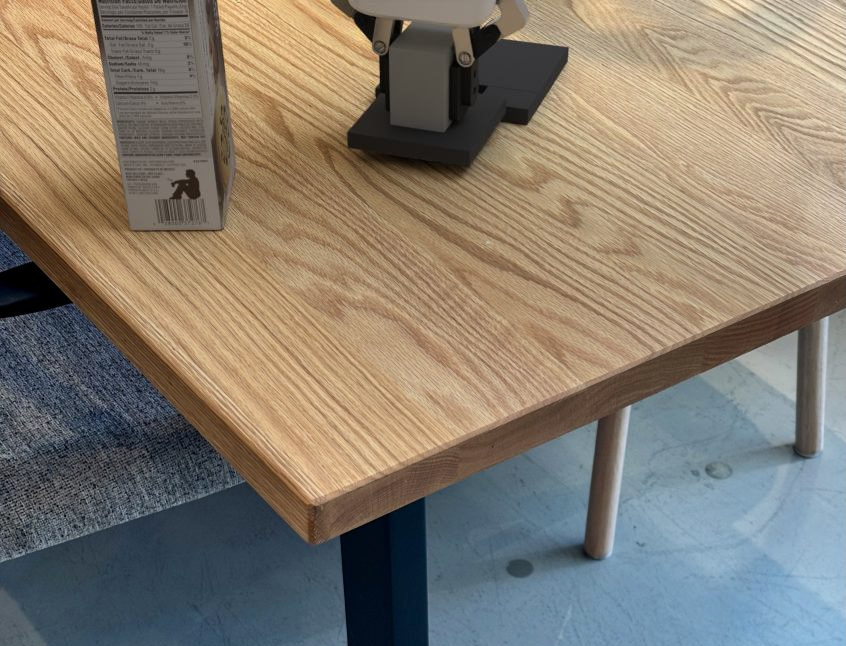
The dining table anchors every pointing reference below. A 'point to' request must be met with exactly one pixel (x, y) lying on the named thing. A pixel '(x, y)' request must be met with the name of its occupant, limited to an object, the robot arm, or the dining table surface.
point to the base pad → (519, 75)
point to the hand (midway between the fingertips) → (428, 106)
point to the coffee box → (168, 110)
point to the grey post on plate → (425, 104)
